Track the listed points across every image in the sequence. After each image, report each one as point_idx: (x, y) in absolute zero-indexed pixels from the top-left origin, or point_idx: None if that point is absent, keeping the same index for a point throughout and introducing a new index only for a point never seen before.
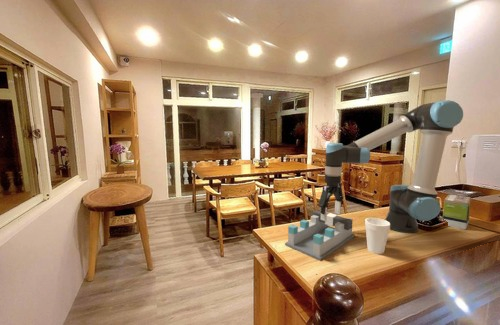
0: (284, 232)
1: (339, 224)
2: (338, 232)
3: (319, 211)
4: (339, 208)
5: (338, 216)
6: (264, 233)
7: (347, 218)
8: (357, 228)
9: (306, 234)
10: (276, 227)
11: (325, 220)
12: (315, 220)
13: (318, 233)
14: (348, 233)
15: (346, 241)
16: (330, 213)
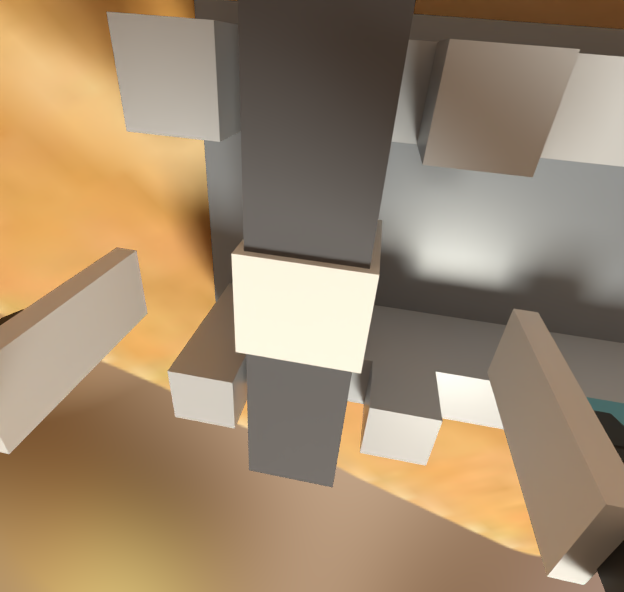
0: (503, 461)
1: (529, 100)
2: (580, 71)
3: (264, 444)
4: (77, 299)
5: (258, 226)
6: None
7: (162, 100)
8: (14, 61)
9: (585, 357)
10: (454, 508)
11: (539, 320)
12: (438, 400)
13: (414, 294)
14: None
15: None
16: (248, 343)
